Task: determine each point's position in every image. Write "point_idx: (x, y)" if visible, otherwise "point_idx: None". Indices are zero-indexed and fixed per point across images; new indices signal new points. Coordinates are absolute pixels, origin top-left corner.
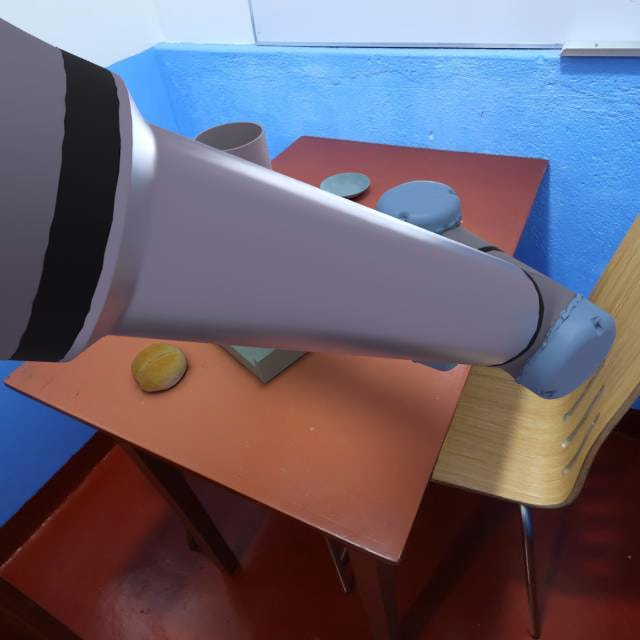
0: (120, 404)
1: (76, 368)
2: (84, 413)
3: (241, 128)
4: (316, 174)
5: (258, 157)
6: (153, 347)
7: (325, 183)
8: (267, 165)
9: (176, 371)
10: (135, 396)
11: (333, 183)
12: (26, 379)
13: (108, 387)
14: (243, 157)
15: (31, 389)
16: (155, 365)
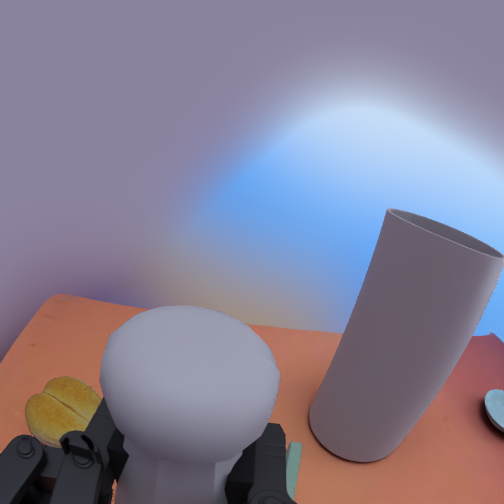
0: (15, 389)
1: (68, 330)
2: (6, 359)
3: (470, 247)
4: (487, 376)
5: (475, 289)
6: (78, 390)
7: (492, 394)
8: (476, 317)
9: (49, 438)
10: (26, 402)
11: (498, 400)
12: (55, 300)
13: (40, 369)
14: (453, 267)
15: (42, 308)
16: (44, 405)
